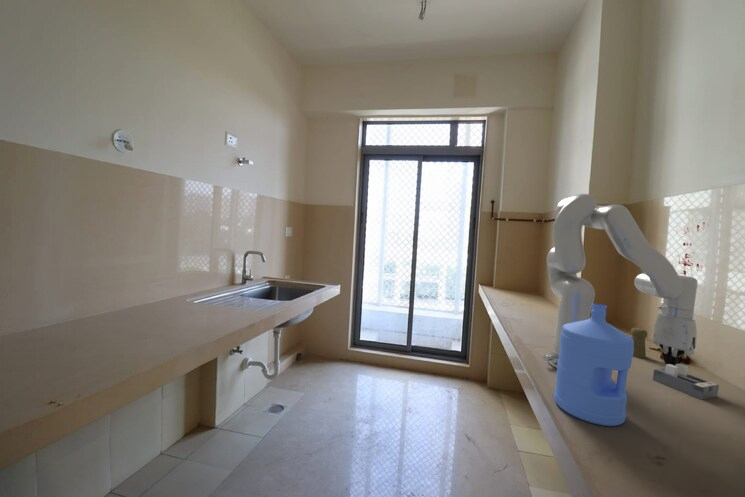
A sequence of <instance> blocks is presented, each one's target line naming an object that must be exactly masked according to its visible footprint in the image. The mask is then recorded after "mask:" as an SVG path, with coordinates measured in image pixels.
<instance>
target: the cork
mask: <svg viewBox="0 0 745 497" xmlns="http://www.w3.org/2000/svg"><path fill="white" fill-rule="evenodd" d="M630 334H631V336H630V337H631V338H632V339H633V340H634V353H633V357H634V358H638V359H646V358H647V354H646V338H647V337H648V331H647V330H646V329H643V328H640V327H632V328H631V330H630Z"/></svg>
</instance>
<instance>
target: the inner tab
mask: <svg viewBox="0 0 745 497" xmlns="http://www.w3.org/2000/svg"><path fill="white" fill-rule="evenodd" d="M664 368H665V373H666V374H669V375H672V376H674V377H677V376H678V369H679V367H677V366H674V365H671V364H666V366H665V367H664Z"/></svg>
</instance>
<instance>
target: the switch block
mask: <svg viewBox="0 0 745 497" xmlns="http://www.w3.org/2000/svg"><path fill="white" fill-rule="evenodd" d="M652 380H654V381H655V382H657V383H660V384H662V385H666V386H668V387H670V388H673V389H675V390H678V391H680V392H682V393H685V394H686V395H687V394H688V395H689V396H692V397H695V398H697V399H700V400H704V399H711V398H716V397H718V393H719V386H720V385H719V384H717V383H715V382H712V381H708V380H706V379H703V378H699V377H697V376H694V375H691V374H689V373H688V374H687V377H686V376H683V375H681V374H678V376H677V377H674V376H672V375H669V374H666V373H665V367H664V368H662V367H661V368H655V369H653V376H652Z"/></svg>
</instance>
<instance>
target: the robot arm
mask: <svg viewBox="0 0 745 497" xmlns="http://www.w3.org/2000/svg"><path fill="white" fill-rule="evenodd" d="M556 213H557V216H556V217H555V219H554V222H553V226H552V237H553V247H552V248H550V250H549V251H548V253H547V256H546V268H547V274H548V281H549V284H550V288H551V291H552V292H553V294H554V295H555V297H557V298H559V299H560V303H559V305H558V308H557V313H556V314H557V315H556V322H555V332H554V341H553V350H551V354H545V355H543V356H542V358H543V360H544V362H547V363H548V364H549V365H551V367H554V368H556V369H557V364H558V360H559V351H560V342H561V341H560V337H561V331H562V327H563V325H565V324H568V323H573V322H578V321H583V320H588V319H590V318H591V316H590V314H591V310H592V308H593V306H592V304H594V301H595V297H596V291H595V288H594V286H593V285H592V283H590V282H589V281H588V280H587V279H585V278H583V277H578V276H577V274H578V273H581V272H582V271H583V270H584V269H585V268H586V264H587V263H586V262H587V260H586V254H585V250H584V248H585V247H584V242H583V236H582V231H583V230H582V229H583V227H584V226H585V227H588V228H592V229H596V230H604V231H605V233H606V234H607V236H608V238H609V239H610V241H611V243H612V245H613V246H614V248H615V250H616V251H617V253H618V254H619V255H621V256H622V257H623V258H625V259H626V260H628V261H629V262H632V263H633V264H635V265H636V266H637V267H638V268H640V269H641V270H642V271H643V272H642V273H640V274H637V276H636V277H635V278H634V283H633V284H634V286H635V288H636V289H637V290H638V291H640V292H641V293H643V294H646V295H649V296H652V297H653V296H654V297H657V298H661V299H663V302H662V305H658V306H657V308H658V310H660V311H661V312H660V313H658V315H657V316H656V319H655V322H654V326H653V330H652V332H651V333H652V335H651V339H652V343H653V344H654V345H656V346H657V347H659V348H660V349H661V350H662V352H663V353H664V361H663V362H664V366H665V367H666V364H671V365H674V366H675V365H676V364H679V359H680V357H681V356H683V355H686V356H687V355H688V356H693V355H695V349H696V347H697V337H698V336H697V323H696V320H695V319H694V315H695V314H694V313H695V305H696V297H697V288H698V280H697V279H696V277H693V276H686V275H679V273H678V271H676V269H675V267H674V265H673V264H672V263H671V261H669V259H668V258H666V256H664V255H663V254H662V253H661V252H660V251H659V250H658V249H657V248H656V247H654V246H653V245H652V244H651V243H650V242H649V241H648V240H647V238H646V236H645V235H644V234H643V232H642V230H641V229H640V227H639V224H637V222H636V220H635V219H634V217H633V215H632V214H631V211H629V209H628V208H627V207H626V206H625V205H622V204H607V205H600V204H597V200H596V198H595V197H594V196H593V195H591V194H589V193H581V194H580V193H579V194H575V195H572V196H569V197H565V198H563V199H561V201H559V203H558V204H557V206H556Z"/></svg>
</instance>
